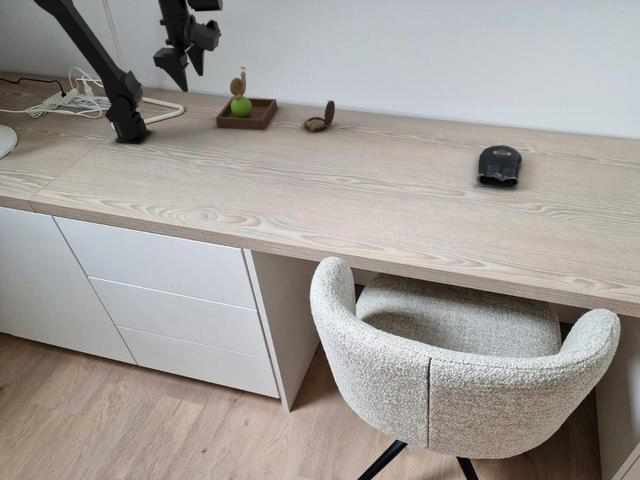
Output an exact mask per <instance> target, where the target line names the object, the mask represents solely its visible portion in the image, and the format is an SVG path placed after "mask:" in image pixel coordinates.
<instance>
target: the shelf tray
mask: <svg viewBox="0 0 640 480" xmlns="http://www.w3.org/2000/svg"><path fill="white" fill-rule="evenodd" d="M246 98H247V99H249V101H250V102H251V104H252V112H251V114H250V115H249V116H247V117H245V118H239V117H237V116H236V115H234V113H233V112H232V110H231V103H232V101H233V99H234V98H233V96H232V97H231V98H230V99H229V100H228V102H227V103H226V104H225V105H224V107H223V108H222V110H221V111H220V112H219V113H218V114H217V116H216V117H215V120H216V125H217V128H222V129H223V128H224V129H244V130H259V131H261V130H262V131H265V130H266V128H267V126H268V124H269V123H270V121H271V120H272V118H273V116H274V115H275V113H276V111H277V110H278V102H277V99H276V98H261V97H260V98H259V97H246Z"/></svg>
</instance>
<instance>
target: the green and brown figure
mask: <svg viewBox="0 0 640 480" xmlns="http://www.w3.org/2000/svg"><path fill="white" fill-rule="evenodd" d="M240 69H241V72H240V77H234V78H233V79H232V80H231V81H230V84H229V90H230V93H231V94H232V95H233V96H232V97H233V98H234V99H233V101H232V103H231V110H232V112H233V113H234V115H236V116H237V117H239V118H245V117H247V116H249V115H250V114H251V112H252V104H251V102H250V101H249V99H247V98H248V97H246V96H244V95H245V93H246V90H247V79H246V77H247V74H246V72H245V70H246V67H245V66H240Z"/></svg>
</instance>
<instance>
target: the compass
mask: <svg viewBox="0 0 640 480" xmlns="http://www.w3.org/2000/svg"><path fill="white" fill-rule="evenodd" d="M326 102H327V104H326V106H325V110H324V115H323V117H321V116H313V117H310V118H308V119H307V120H305V121H304V128H305V129H306V132H308V133H309V132H311V133H314V132H320V131H324V130H325V129H327V128H328V127H329V126H331V124H332V122H333V120H334V116H335V111H336V104H335V101H334V100H332V99H331V100H326Z"/></svg>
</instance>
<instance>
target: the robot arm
mask: <svg viewBox="0 0 640 480" xmlns="http://www.w3.org/2000/svg"><path fill="white" fill-rule="evenodd" d="M32 1H33V2H34V3H35V5H37V6H38V7H39V8H40V9H42V10H44V11H45V12H47V14H49V15H51V16H52V17H53V18H54V19H55V20H56V21H57V22H58V24H59V26H60V27H61V28H62V30H63V31H64V32H65V33H66V34H67V36H68V37H69V39H70V40H71V41H72V43H74V45H75V46H76V48H77V49H78V51H79V52H80V54H81V55H82V56H83V57H84V58H85V60H86V61H87V62H88V64H89V65H90V66H91V68H92V69H93V70H94V72H95V73H96V74H97V76H98V77H99V78H100V80H101V84H102V87H103V91H104V94H105V96H106V97H107V100H108V101H109V103H110V106H109V107H108V109H107V110H106V112H105V114H104V117H105V118H106V119H107V121H109V123H112V125H113V128H114V129H115V132H116V135H117V137H116V138H115V139H114V141H115V143H121V144H138V145H139V144H140V143H141V142H142V141H143V140H145V138H146V137H147V136H148V135H149V134H150V133H151V130H150V129H148V128H147V126H146V122H145V120H144V118H143V117H142V116H141V115H142V114H141V112H140V111H138V110H137V109H138V107H139V105H140V103H141V101H142V99H143V96H144V92H143V89H142V86H143V84H142V83H141V82H139V80H138V79H137V78H136V76H135V73H134V72H133V71H132V69H131V70H129V71H127V72H126V71H124V70H123V69H122V68H120V67H119V66H118V65H117V64H116V62H115V60H113V58H112V56H111V55H110V54H109V52H108V51H107V49H106V48H105V47H104V46H103V44H102V42H101V41H100V40H99V39H98V38H97V36H96V34H95V32H93V30H92V29H91V28H90V26H89V24H88V23H87V22H86V20H85V19H84V17H83V16H82V15H81V13H80V12H79V11H78V9H77V8H76V6H75V4H74V1H73V0H32ZM157 2H158V6H159V9H160V13H161V17H162V18H161V19H159V24H160V26H164V28H165V32H166V35H167V38H166V39H165V40H164V43H165V46H171V47H161V48H160V49H158V50H157V51H156V52H155V53H154V55H153V56H152V60H153V62H154V65H155V67H156V68H159V69H161V70H163V71H164V72H165V73H166V74H167V75H168V76H169V77H170V78H171V79H172V81H174V83H175V84H176V85H177V86H178V87H179V88H180V90H181V91H182V92H184V93H188V92H189V85H188V79H187V78H188V77H187V73H186V69H187V68H188V66H189V65H190V64H191V65H192V67H193V69H194V70H195V72H196V74H197V76H198V77H203V76H204V66H205V65H204V64H205V51H207V52H214V51H215V49H216V48H218V47H219V42H220V38H221V36H222V33H221V29H220V27H219V23H218V21H216V20H214V19H209V20H208V21H207V23H206V24H205V22H203V23H198V22H197V19H196V15H194V14H193V13H190V11H189V7H190V9H191V10H194V12H195V13H196V12H198V13H199V12H221V11H222V12H223V10H224V1H223V0H157ZM188 59H189V61H190V62H188Z"/></svg>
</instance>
